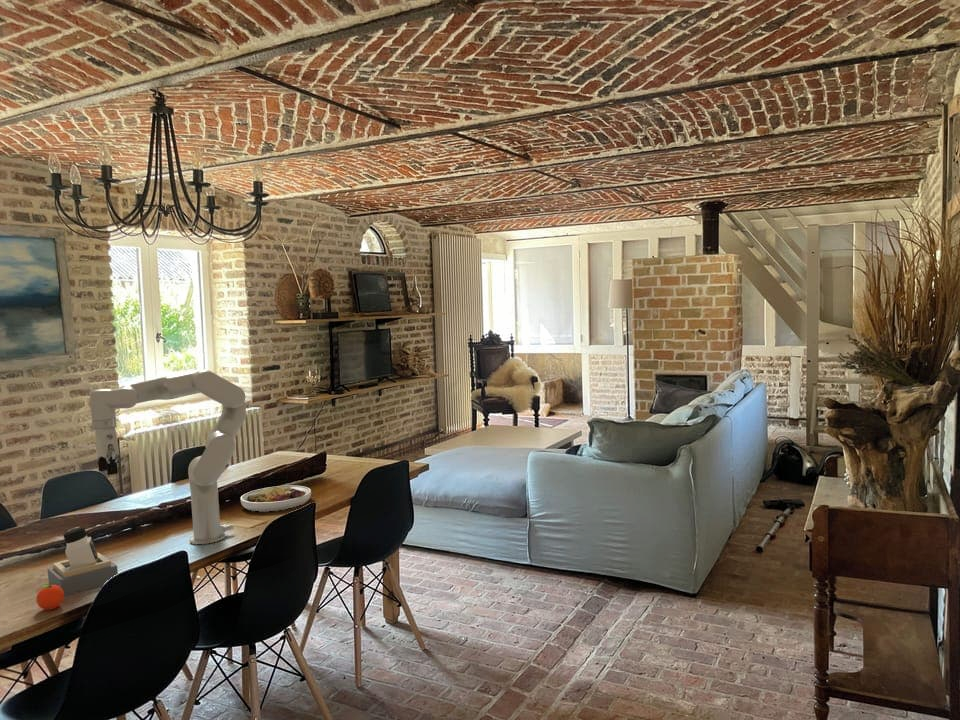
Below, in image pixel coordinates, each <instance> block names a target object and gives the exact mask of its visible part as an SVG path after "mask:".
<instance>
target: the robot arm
mask: <svg viewBox="0 0 960 720" xmlns="http://www.w3.org/2000/svg"><path fill="white" fill-rule="evenodd" d="M197 394H202V395H204V396H206V397H207V398H210V399H212V400H213V401H215V402H217V403H219V404H221V405H222V411H221V414H220V416H219V418H218V420H217V422H216V423H215V425H214V427H213V429H211V431H210V433H209V435H208V436H207V437H206V440H205V442H204V445H205V446H204V447H205V449H204V451H203V453H202V454H201V455H199V456H197V457H194V458H193V459H192V460H191V461H190V463H189V465H188V470H187V472H188V473H187V474H188V482H189V490H190V503H191V514H192V515H191V516H192V519H191V520H192V530H193V531H192V533H193V536H191V537H190V538H189V543H190V544H191V543H192V545H197V544H202V545H210V544H213V543H214V542H215V543H218V542H220V541H219V540H221V541H223V540H224V539H225V538H226V533H225V532H227V531H233V530H234V525H233V524H223V525H222V524H221V517H220V515H221V514H220V504H219V501H220V500H219V489H218V480H219V479H220V477H221V476H222V474H223V472H224V470H225V469H226V467H227V466H228V464H229V462H230V460H231V459H232V457H233V455H234V453H235V449H236V442H235V439H236V437H237V435H238V433H239V431H240V429H241V428H242V426H243V424H244V421H245V418H246V416H247V415H246V414H247V413H246V412H247V407H246V392H245V391H244V389H243V388H242V387H240V386H238V385H236V384H235V383H233V382H231V381H229V380H227V379H225V378H223V377H222V376H219V375H218V374H216V373H215V372H213V371H211V370H208V369H203V368H202V369H196V370H191V371H187V372H182V373H178V374H177V373H176V374H173V375H168V376H163V377H160V378H159V377H158V378H155V379H150V380H146V381H139V382H136V383H130V384H125V385H121V386H120V387H118V388H115V389H111V388H100V389H99V388H98V389H93V390H91V391H90V392H89V403H90V404H89V405H90V415H91V418H90V419H91V428H92V431H95V432H94V435H95V436H94V437H95V451H96V455H97V463H98V464H97V465H98V466H97V467H98V472H106V473H107V474H106V475H108V476H111V475H118V459H117V458H118V456H119V455H120V451H119V443H118V437H117V431H116V430H117V429H116V428H117V426H118V425H117V418H116V417H117V416H116V414H117V413H116V409H126V410H127V409H130V408H134V407H135V406H136V405H137V404H141V403H146V402H149V401H151V402H153V401H158V400H160V401H161V400H164V401H168V400H175V399H179V398H182V397H183V398H184V397H187V396H192V395H197ZM222 539H223V540H222ZM217 541H218V542H217ZM209 543H210V544H209Z"/></svg>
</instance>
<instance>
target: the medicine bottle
mask: <svg viewBox="0 0 960 720" xmlns="http://www.w3.org/2000/svg"><path fill="white" fill-rule="evenodd" d="M63 539H64V541H65V543H66V548H65V550H64V551H65V552H64V553H65V555H66V558H67V560H68V561H69V564H70V566H71V569H76V568H80V567H84V566H88V565H91V564H94V563H96V562H97V558H98V554H97V553H98V551H97V550H96V549H97V548H96V545H95V544H94V541H93V538H92V537H91V536H88V535H87V532H86V529H85V527H84V526H77V527H73V528H71V529H69V530H67V531H66V532H64V533H63Z"/></svg>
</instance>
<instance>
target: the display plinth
mask: <svg viewBox="0 0 960 720" xmlns="http://www.w3.org/2000/svg"><path fill="white" fill-rule="evenodd" d="M97 554H98V558H97V562H96V563H94V564H91V565H88V566H84V567H80V568H76V569H71V566H70V564H69V561H68V559H66V560H65V559H64V560H61V561H58V562H54V563H52V567H51V566H50V567H47V569H46V570H47V578H48V579H47V581H48V585H57V586H59V587H60V588H62V590H63V592H64V595H65V596H68V595H71V594H70V593H72V594H75V593H74V592H76V593H79V592H82V590H83V591H86V590H89V589H94V588H97V587H100V586H101V587H102V586H104V585H103V584H104V583H105V582H106V581H107V580H109V579H110V578H111V577H113V576H114V575H116V574H118V565H117V564H116V563H114V562H113V561H112V560H110V559H109V558H108V557H106V556H104V555H103V554H101V553H100V552H97ZM118 575H119V574H118ZM78 591H79V592H78ZM67 594H68V595H67Z"/></svg>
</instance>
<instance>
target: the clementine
mask: <svg viewBox="0 0 960 720" xmlns="http://www.w3.org/2000/svg"><path fill="white" fill-rule="evenodd" d="M35 593H36V594H37V595H36V604H37V606H39V608H41V609H43V610H46V611H49V610H50V609H51V610H54V609H56V608H58V607H59V606H60V605H61V604H62V603H63V601H64V598H65V596H64V592H63V590H62V588H60V587H59V586H57V585H50V584H46V585H43V586H41V587H39V588H38V589H37V590H36V592H35Z"/></svg>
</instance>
